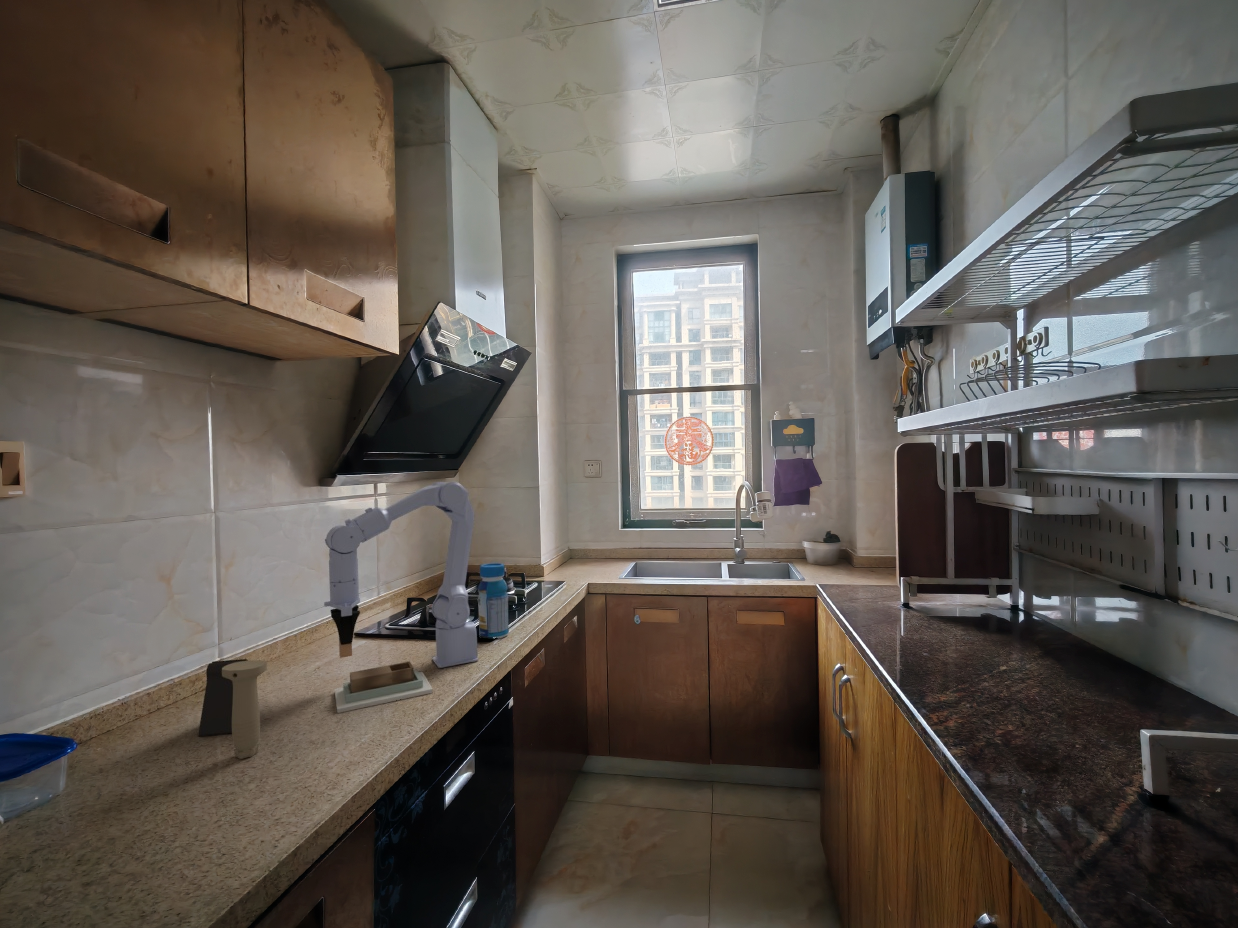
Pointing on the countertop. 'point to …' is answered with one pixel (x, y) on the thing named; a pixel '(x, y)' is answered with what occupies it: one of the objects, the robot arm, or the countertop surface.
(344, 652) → the tan square block
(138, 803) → the countertop surface
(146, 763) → the countertop surface
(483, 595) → the beverage bottle
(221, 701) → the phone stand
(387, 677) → the tan box sleeve
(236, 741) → the handle
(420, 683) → the cradle
